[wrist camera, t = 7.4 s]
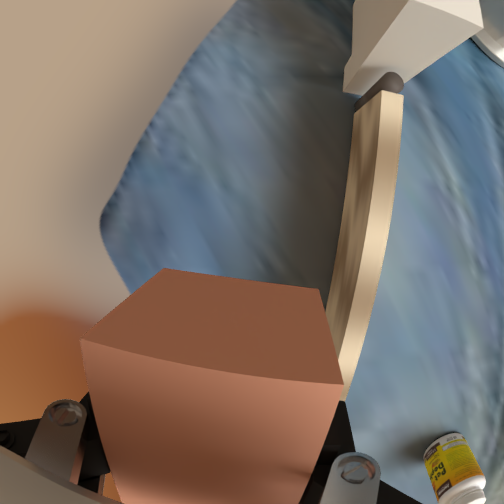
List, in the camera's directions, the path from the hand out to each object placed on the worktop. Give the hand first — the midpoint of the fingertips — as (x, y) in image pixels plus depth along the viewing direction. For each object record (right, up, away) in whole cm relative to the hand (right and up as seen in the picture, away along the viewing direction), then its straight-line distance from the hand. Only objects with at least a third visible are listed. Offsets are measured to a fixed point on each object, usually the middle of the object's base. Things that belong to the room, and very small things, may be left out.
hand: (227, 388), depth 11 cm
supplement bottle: (+23, -18, +17) cm, 34 cm away
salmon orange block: (0, 0, 0) cm, 1 cm away
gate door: (+8, +4, +12) cm, 15 cm away
